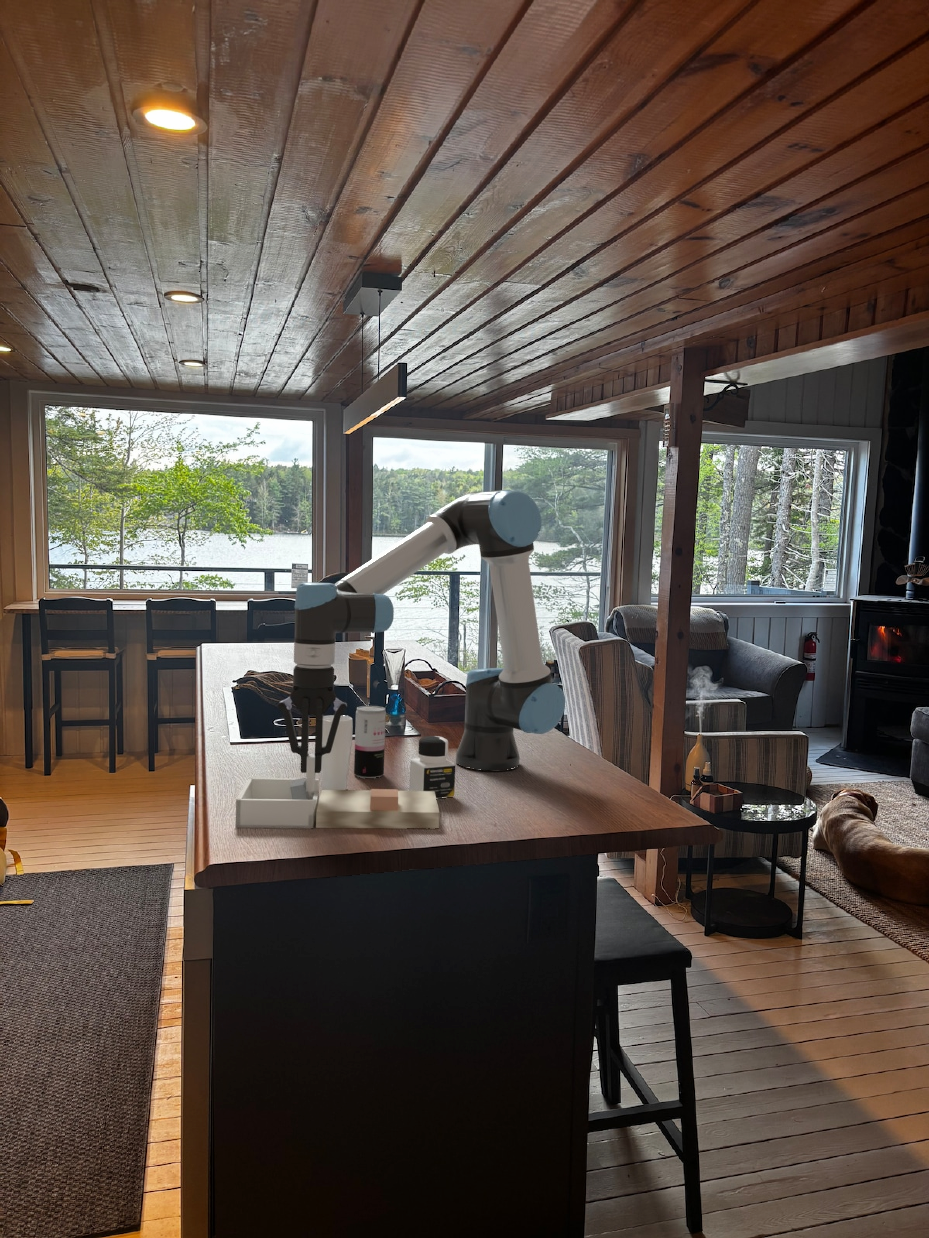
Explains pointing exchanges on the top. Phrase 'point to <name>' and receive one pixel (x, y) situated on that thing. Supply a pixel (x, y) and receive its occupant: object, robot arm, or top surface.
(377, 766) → the beverage can
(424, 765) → the medicine bottle
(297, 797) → the slate tile
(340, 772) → the white cylinder
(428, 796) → the board
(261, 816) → the tray
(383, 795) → the terracotta tile
